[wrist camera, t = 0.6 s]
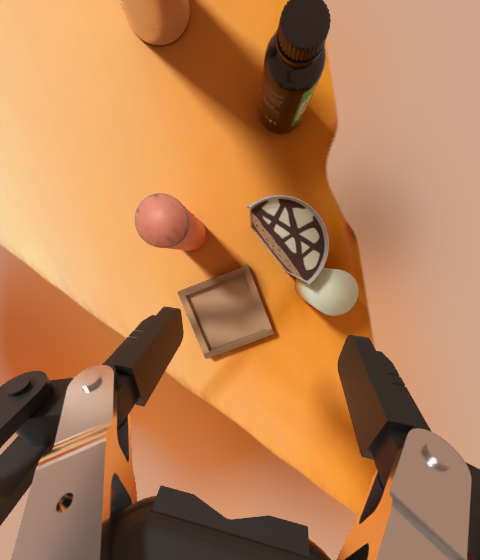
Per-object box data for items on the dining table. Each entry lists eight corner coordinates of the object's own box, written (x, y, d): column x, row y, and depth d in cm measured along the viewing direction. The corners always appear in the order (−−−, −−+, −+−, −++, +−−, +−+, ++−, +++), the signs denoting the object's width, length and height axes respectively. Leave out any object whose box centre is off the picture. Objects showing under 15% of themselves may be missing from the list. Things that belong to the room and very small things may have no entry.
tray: (180, 290, 34) (177, 292, 33) (247, 264, 34) (247, 265, 32) (207, 354, 35) (205, 359, 34) (272, 330, 35) (274, 334, 33)
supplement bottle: (305, 132, 32) (344, 55, 20) (261, 138, 32) (273, 65, 20) (300, 83, 31) (339, -27, 19) (255, 90, 31) (265, -16, 19)
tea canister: (167, 224, 33) (126, 205, 21) (199, 211, 33) (175, 185, 21) (180, 256, 34) (147, 255, 22) (211, 244, 33) (195, 236, 21)
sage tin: (290, 274, 34) (305, 279, 26) (324, 261, 34) (350, 262, 26) (301, 307, 35) (320, 322, 27) (335, 294, 34) (364, 306, 26)
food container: (321, 255, 34) (355, 254, 24) (291, 279, 34) (312, 287, 24) (275, 194, 33) (290, 166, 23) (245, 219, 33) (247, 202, 23)
